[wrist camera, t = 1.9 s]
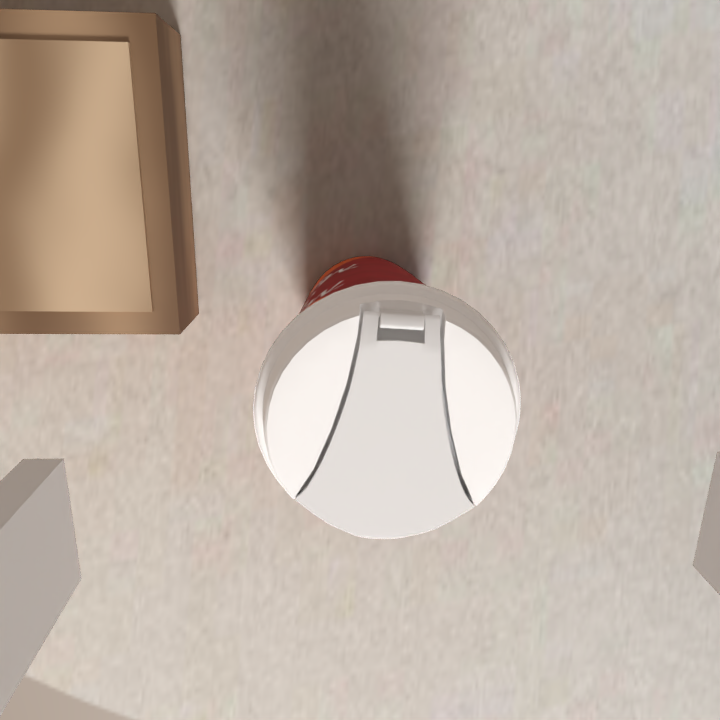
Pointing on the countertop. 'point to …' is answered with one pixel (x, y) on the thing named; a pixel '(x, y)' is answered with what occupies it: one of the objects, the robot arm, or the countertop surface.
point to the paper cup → (386, 403)
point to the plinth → (93, 175)
